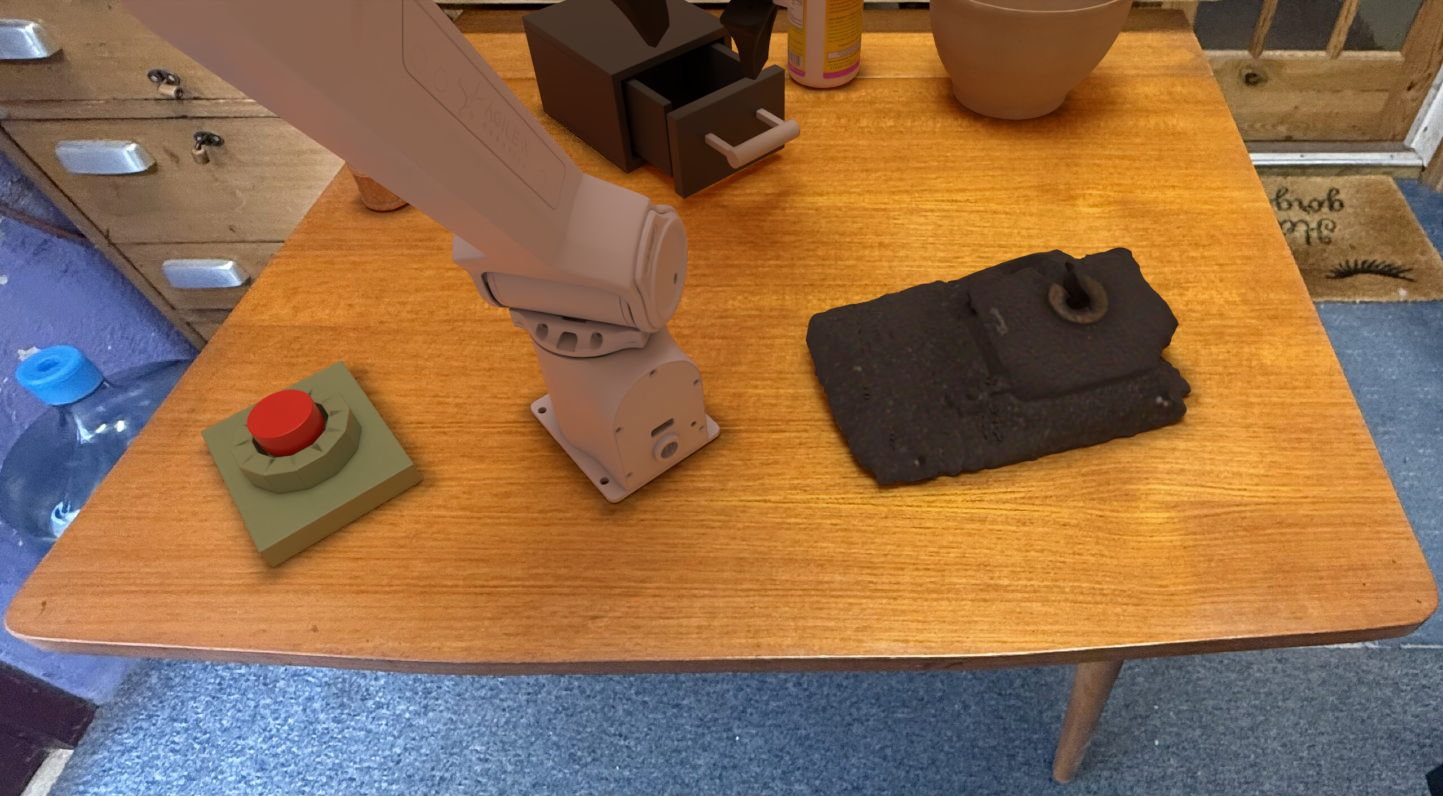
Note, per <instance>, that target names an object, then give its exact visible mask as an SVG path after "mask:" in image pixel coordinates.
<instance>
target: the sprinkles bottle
mask: <svg viewBox="0 0 1443 796" xmlns="http://www.w3.org/2000/svg"><path fill="white" fill-rule="evenodd" d="M344 163H345V165H346V168H347V169H348V171H349V172H350V173H351V175H352V177H353V178H354V181H355V184H356V186H357V188H358V191H359V192H360V198H361V201H362V204H364V205H365V206H366V207H367V208H369V209H371V210H375V211H384V212H385V211H390V210H396V209H398V208H400V207H403V206H404V205H407V204H408V203H407V202H406V201H404V200H403V199H401V198H400V197H398V196H397V195H395V194H394V193H392V192H391V191H389V190H388V189H386V188H385V187H383V186H382V185H380V184H379V183H377V182H376V181H374V180H373V179H371V178H370V177H368V176H367V175H365V174H364V173H362V172H361V171H359V170H358V169H356V168H355V167H353V166H352V165H350V164H349V163H347V162H346V161H344Z"/></svg>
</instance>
